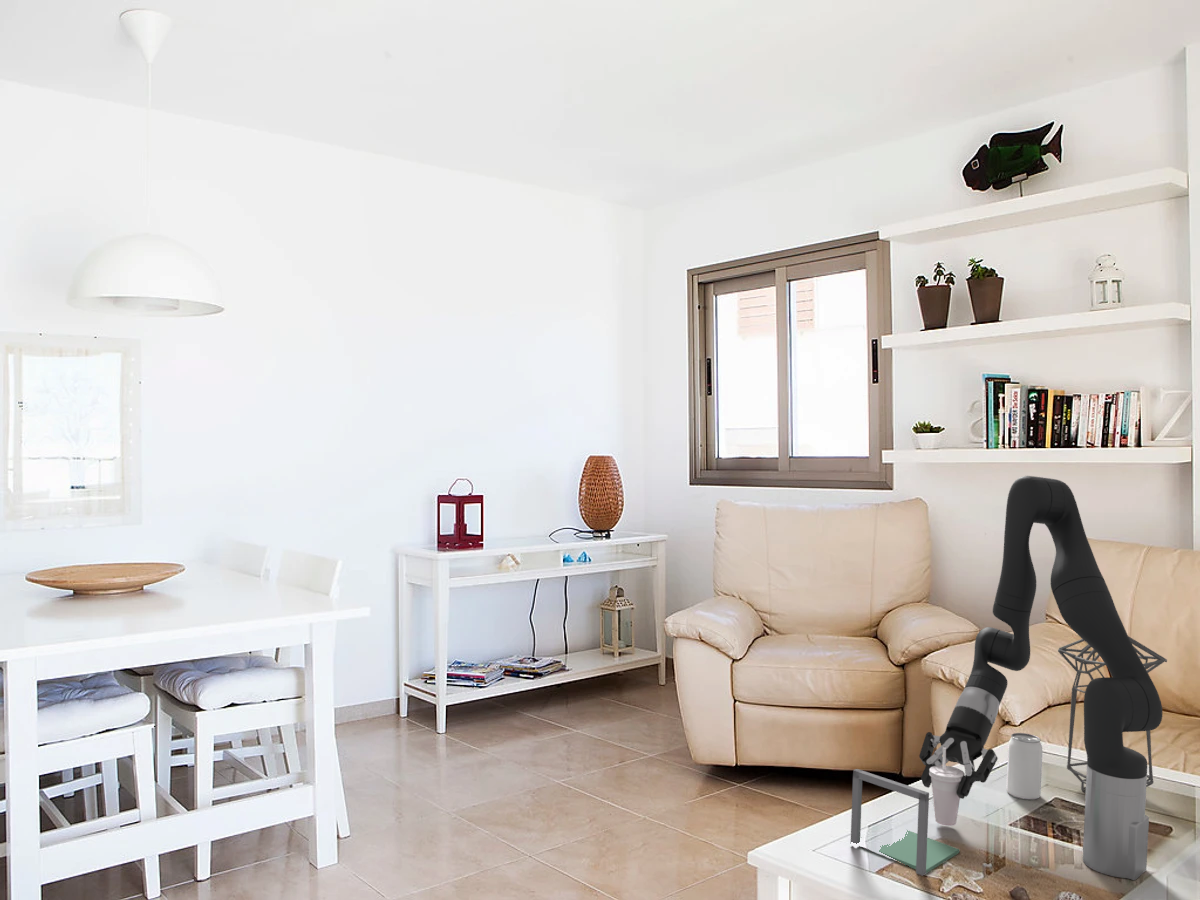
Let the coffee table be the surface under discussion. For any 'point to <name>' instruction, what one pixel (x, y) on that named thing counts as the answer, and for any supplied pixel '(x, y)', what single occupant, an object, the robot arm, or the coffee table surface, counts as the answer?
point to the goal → (914, 846)
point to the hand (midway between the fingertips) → (942, 790)
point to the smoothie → (945, 791)
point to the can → (1024, 766)
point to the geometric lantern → (1093, 662)
